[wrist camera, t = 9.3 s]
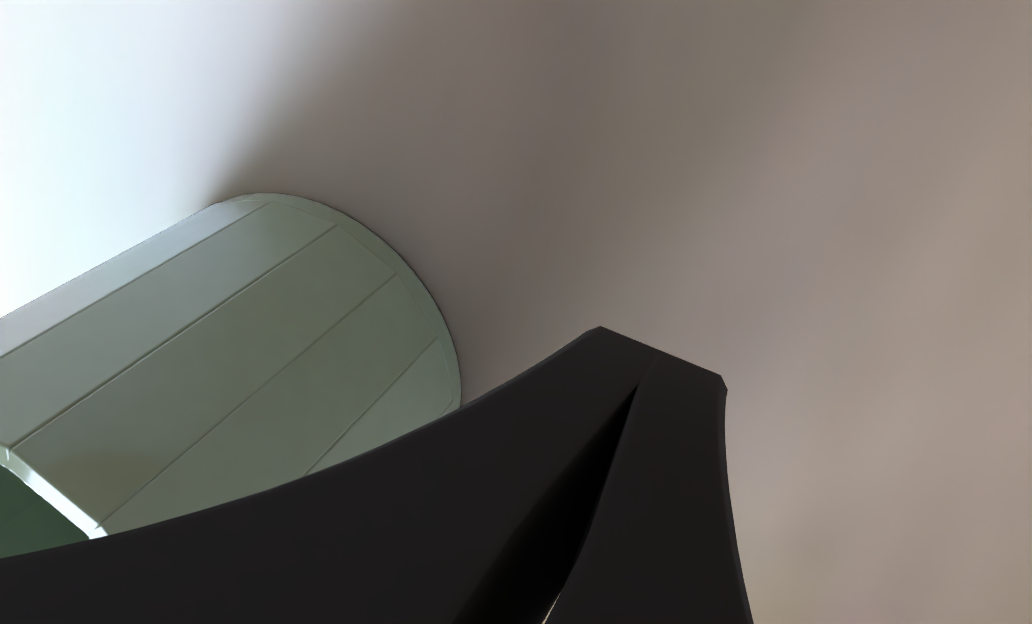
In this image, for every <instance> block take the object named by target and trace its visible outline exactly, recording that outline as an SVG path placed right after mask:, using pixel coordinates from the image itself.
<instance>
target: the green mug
mask: <svg viewBox="0 0 1032 624" xmlns="http://www.w3.org/2000/svg"><path fill="white" fill-rule="evenodd" d="M460 401H461V382H460V372H459V366H458V360H457V355H456V352H455V349H454V345H453V342H452V339H451V335H450V333H449V331H448V328H447V326H446V324H445V321H444V319H443V317H442V314H441V313H440V311H439V309H438V307H437V306H436V304H435V302H434V300H433V299H432V297H431V295H430V293H429V292H428V290H427V289H426V288H425V286H424V285H423V284H422V282H421V281H420V279H419V278H418V277H417V275H416V274H415V273H414V271H413V270H412V269H411V268H410V267H409V266H408V265H407V264H406V262H405V261H404V260H403V259H402V258H401V257H400V256H399V255H398V254H397V253H396V252H395V251H394V250H393V249H392V248H391V247H390V246H388V245H387V244H386V243H385V242H384V241H383V240H382V239H381V238H380V237H378V236H377V235H375V234H374V233H373V232H371V231H370V230H369V229H367V228H366V227H365V226H363V225H362V224H360V223H359V222H357V221H355V220H354V219H352V218H350V217H348V216H347V215H345V214H343V213H342V212H340V211H337V210H335V209H333V208H331V207H328V206H326V205H324V204H321V203H319V202H315V201H312V200H309V199H306V198H302V197H299V196H292V195H286V194H280V193H254V194H247V195H241V196H237V197H234V198H231V199H228V200H225V201H223V202H221V203H215V204H212V205H210V206H208V207H206V208H205V209H203V210H201V211H199V212H197V213H195V214H193V215H192V216H190V217H188V218H186V219H184V220H182V221H180V222H179V223H177V224H175V225H173V226H171V227H169V228H167V229H165V230H164V231H162V232H160V233H158V234H156V235H154V236H152V237H151V238H149V239H147V240H145V241H143V242H141V243H139V244H138V245H136V246H134V247H132V248H130V249H128V250H126V251H124V252H123V253H121V254H119V255H117V256H115V257H113V258H111V259H110V260H108V261H106V262H104V263H102V264H100V265H98V266H97V267H95V268H93V269H91V270H89V271H87V272H85V273H83V274H82V275H80V276H78V277H76V278H74V279H72V280H70V281H69V282H67V283H65V284H63V285H61V286H59V287H57V288H55V289H54V290H52V291H50V292H48V293H46V294H44V295H42V296H41V297H39V298H37V299H35V300H33V301H31V302H29V303H28V304H26V305H24V306H22V307H20V308H18V309H16V310H14V311H13V312H11V313H9V314H7V315H5V316H3V317H1V318H0V558H5V557H10V556H15V555H20V554H25V553H30V552H35V551H39V550H44V549H48V548H53V547H58V546H62V545H67V544H71V543H76V542H80V541H85V540H89V539H94V538H98V537H103V536H107V535H112V534H116V533H120V532H124V531H128V530H132V529H136V528H140V527H143V526H147V525H150V524H154V523H157V522H161V521H165V520H168V519H172V518H175V517H179V516H182V515H186V514H189V513H193V512H196V511H200V510H203V509H206V508H210V507H213V506H216V505H219V504H223V503H226V502H229V501H232V500H235V499H239V498H242V497H245V496H248V495H252V494H255V493H258V492H261V491H264V490H267V489H270V488H273V487H276V486H279V485H281V484H284V483H287V482H290V481H292V480H295V479H298V478H301V477H303V476H306V475H309V474H312V473H314V472H317V471H320V470H322V469H325V468H328V467H330V466H333V465H335V464H338V463H340V462H343V461H345V460H348V459H350V458H352V457H355V456H357V455H360V454H362V453H364V452H367V451H369V450H372V449H374V448H376V447H379V446H381V445H383V444H385V443H387V442H389V441H391V440H394V439H396V438H398V437H400V436H402V435H404V434H406V433H408V432H410V431H413V430H415V429H417V428H419V427H421V426H423V425H425V424H427V423H430V422H432V421H434V420H436V419H438V418H440V417H442V416H444V415H446V414H448V413H450V412H452V411H454V410H456V409H458V408H460Z"/></svg>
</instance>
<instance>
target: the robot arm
mask: <svg viewBox="0 0 1032 624" xmlns="http://www.w3.org/2000/svg"><path fill="white" fill-rule="evenodd" d="M727 391H728V390H727V388H726V385H725V383H724V381H723V379H722V377H721V375H719V374H716V373H714V372H711V371H709V370H707V369H704V368H702V367H699V366H697V365H694V364H692V363H689V362H687V361H685V360H682V359H680V358H677V357H675V356H672V355H670V354H668V353H665V352H663V351H660V350H658V349H655V348H653V347H650V346H648V345H646V344H643V343H641V342H638V341H636V340H633V339H631V338H629V337H626V336H624V335H621V334H619V333H616V332H614V331H611V330H609V329H607V328H604V327H602V326H599V327H597V328H594V329H591V330H589V331H586V332H585V333H583V334H582V335H581V336H579V337H578V338H576V339H575V340H573V341H572V342H570V343H569V344H567V345H566V346H564V347H563V348H561V349H560V350H558V351H557V352H555V353H554V354H552V355H550V356H549V357H547V358H546V359H544V360H543V361H541V362H539V363H538V364H536V365H534V366H533V367H531V368H529V369H528V370H526V371H524V372H523V373H521V374H519V375H518V376H516V377H514V378H513V379H511V380H509V381H507V382H505V383H504V384H502V385H500V386H498V387H496V388H495V389H493V390H491V391H489V392H487V393H486V394H484V395H482V396H480V397H478V398H476V399H475V400H473V401H471V402H469V403H467V404H466V405H464V406H462V407H460V408H458V409H456V410H454V411H452V412H450V413H448V414H446V415H444V416H442V417H440V418H438V419H436V420H434V421H432V422H430V423H427V424H425V425H423V426H421V427H419V428H417V429H415V430H413V431H410V432H408V433H406V434H404V435H402V436H400V437H398V438H396V439H394V440H391V441H389V442H387V443H385V444H383V445H381V446H379V447H376V448H374V449H372V450H369V451H367V452H364V453H362V454H360V455H357V456H355V457H352V458H350V459H348V460H345V461H343V462H340V463H338V464H335V465H333V466H330V467H328V468H325V469H322V470H320V471H317V472H314V473H312V474H309V475H306V476H303V477H301V478H298V479H295V480H292V481H290V482H287V483H284V484H281V485H279V486H276V487H273V488H270V489H267V490H264V491H261V492H258V493H255V494H252V495H248V496H245V497H242V498H239V499H235V500H232V501H229V502H226V503H223V504H219V505H216V506H213V507H210V508H206V509H203V510H200V511H196V512H193V513H189V514H186V515H182V516H179V517H175V518H172V519H168V520H165V521H161V522H157V523H154V524H150V525H147V526H143V527H140V528H136V529H132V530H128V531H124V532H120V533H116V534H112V535H107V536H103V537H98V538H94V539H89V540H85V541H80V542H76V543H71V544H67V545H62V546H58V547H53V548H48V549H44V550H39V551H35V552H30V553H25V554H20V555H15V556H10V557H5V558H0V624H542V622H543V621H544V619H545V617H546V616H547V614H548V612H549V611H550V609H551V607H552V606H553V604H554V602H555V601H556V599H557V597H558V596H559V597H558V599H557V601H556V603H555V605H554V607H553V609H552V611H551V612H550V614H549V616H548V618H547V620H546V622H545V624H754V623H753V619H752V614H751V610H750V605H749V601H748V597H747V592H746V588H745V583H744V578H743V573H742V568H741V563H740V557H739V552H738V547H737V540H736V533H735V526H734V520H733V513H732V506H731V499H730V493H729V483H728V474H727V461H726V446H725V406H726V396H727ZM560 592H561V593H560ZM559 594H560V595H559Z"/></svg>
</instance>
